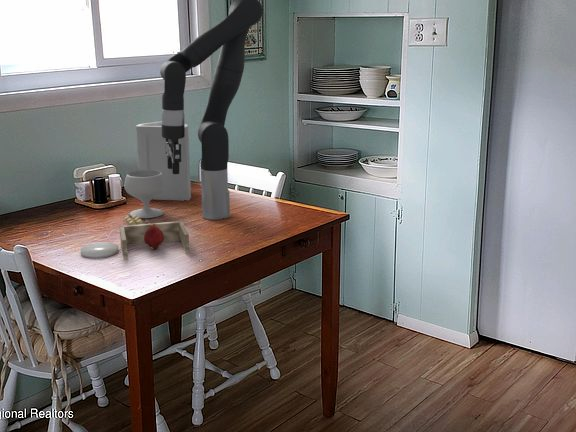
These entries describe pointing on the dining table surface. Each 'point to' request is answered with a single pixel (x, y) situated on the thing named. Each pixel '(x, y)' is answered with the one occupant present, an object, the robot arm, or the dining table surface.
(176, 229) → the wooden plank arch
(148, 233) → the onion
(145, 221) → the ammunition
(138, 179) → the chalice
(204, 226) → the dining table surface
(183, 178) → the tall white box
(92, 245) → the white flat disc
